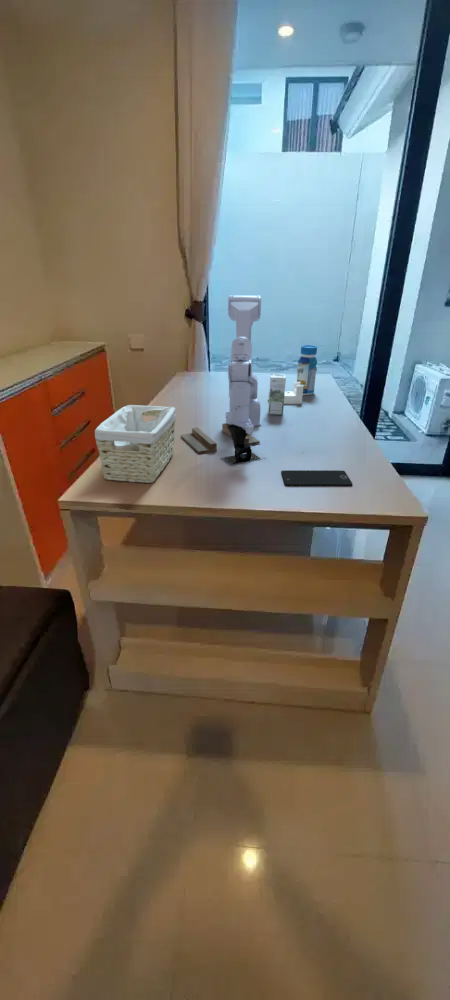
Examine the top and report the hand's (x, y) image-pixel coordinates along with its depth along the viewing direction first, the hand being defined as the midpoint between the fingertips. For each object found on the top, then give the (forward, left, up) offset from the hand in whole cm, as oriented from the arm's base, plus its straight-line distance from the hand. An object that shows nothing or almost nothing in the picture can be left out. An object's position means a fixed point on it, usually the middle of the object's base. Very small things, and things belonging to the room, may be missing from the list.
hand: (238, 448), depth 132 cm
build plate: (0, +3, -3) cm, 4 cm away
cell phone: (-12, +23, -3) cm, 26 cm away
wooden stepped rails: (0, -14, -2) cm, 14 cm away
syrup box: (-32, -32, -2) cm, 45 cm away
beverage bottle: (-59, -52, -2) cm, 79 cm away
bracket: (-44, -44, -3) cm, 62 cm away
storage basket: (+29, -4, -3) cm, 29 cm away
